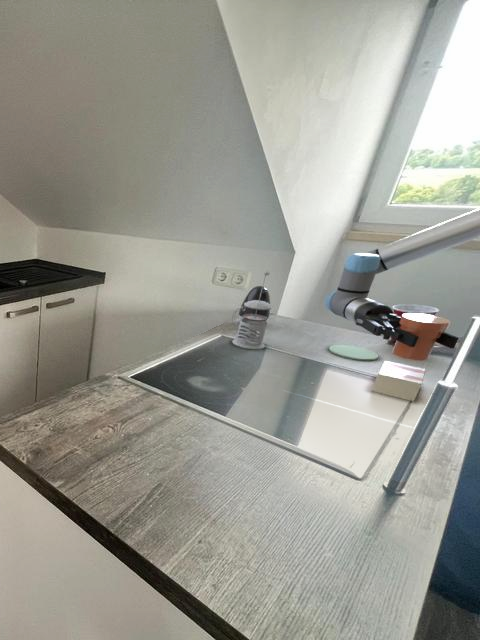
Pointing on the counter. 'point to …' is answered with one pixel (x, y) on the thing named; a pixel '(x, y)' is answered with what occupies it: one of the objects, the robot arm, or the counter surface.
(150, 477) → the counter surface
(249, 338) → the french press
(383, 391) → the box with red stripes
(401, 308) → the plastic cup
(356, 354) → the mat
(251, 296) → the black rounded piece
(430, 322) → the terracotta pot
